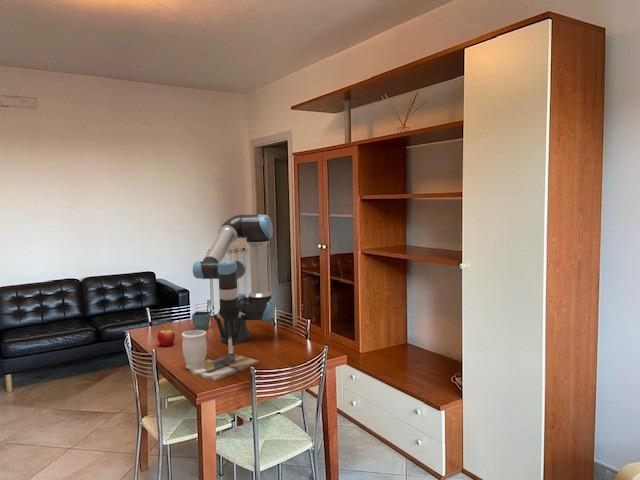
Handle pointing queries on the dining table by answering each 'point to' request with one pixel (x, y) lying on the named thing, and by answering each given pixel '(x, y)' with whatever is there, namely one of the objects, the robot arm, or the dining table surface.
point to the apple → (166, 337)
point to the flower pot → (201, 320)
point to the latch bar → (218, 362)
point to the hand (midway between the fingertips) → (231, 352)
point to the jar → (194, 348)
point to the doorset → (225, 368)
